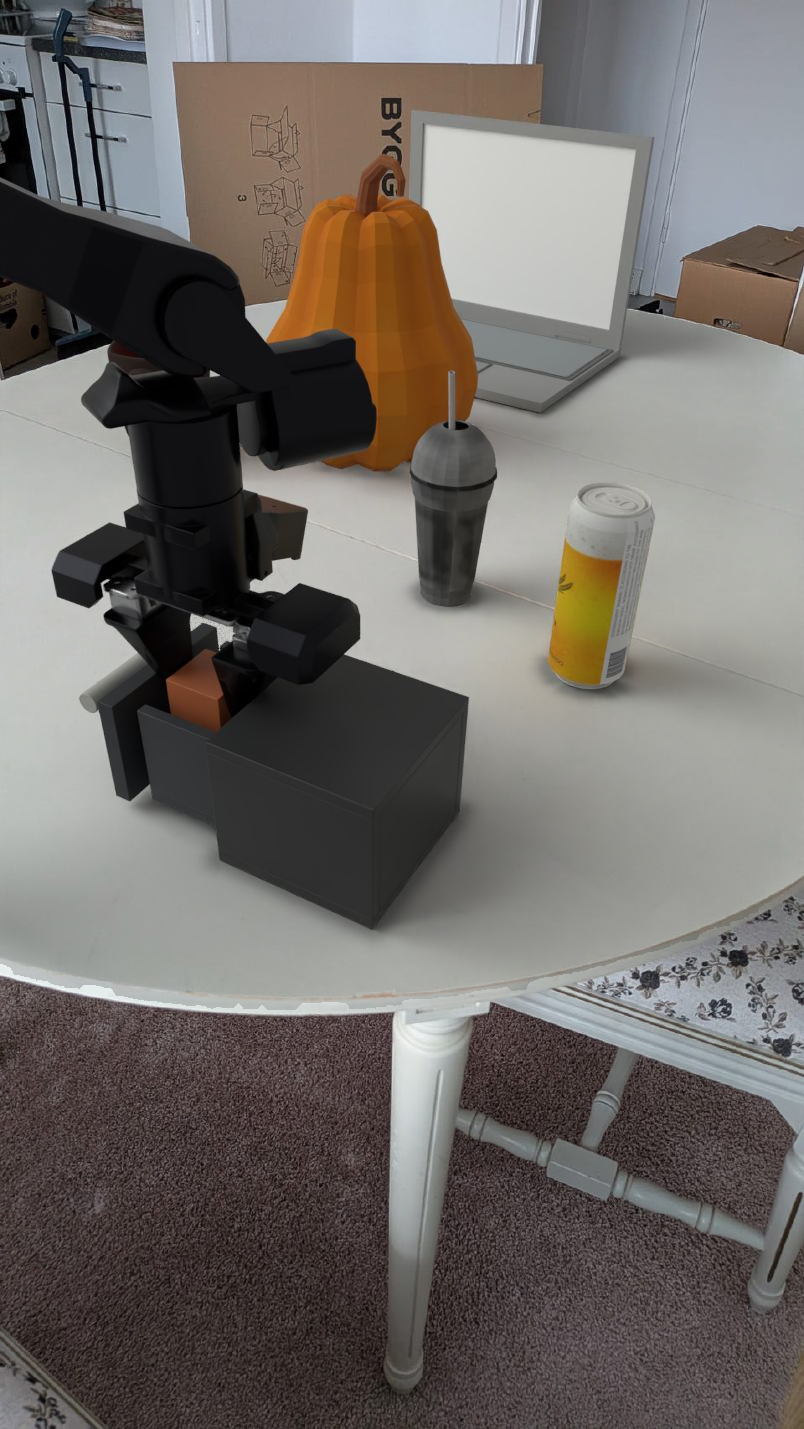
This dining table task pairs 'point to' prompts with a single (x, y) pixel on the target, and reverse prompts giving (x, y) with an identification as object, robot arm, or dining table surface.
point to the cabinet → (339, 784)
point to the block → (198, 693)
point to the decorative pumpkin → (384, 312)
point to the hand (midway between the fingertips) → (215, 711)
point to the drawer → (155, 734)
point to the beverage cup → (451, 504)
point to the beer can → (600, 583)
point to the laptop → (533, 244)
